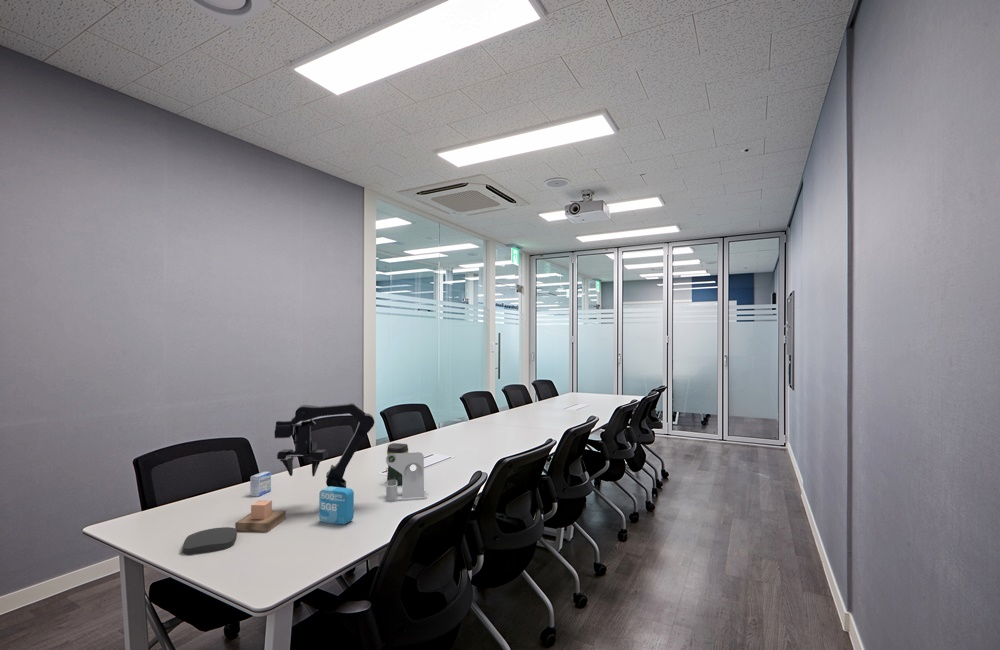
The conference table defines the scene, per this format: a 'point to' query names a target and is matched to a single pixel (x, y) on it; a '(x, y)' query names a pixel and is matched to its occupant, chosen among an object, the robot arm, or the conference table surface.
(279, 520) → the walnut block
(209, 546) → the media streaming box
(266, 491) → the medicine box
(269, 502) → the terracotta block
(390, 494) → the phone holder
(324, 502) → the data package
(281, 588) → the conference table surface
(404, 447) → the coffee jar
